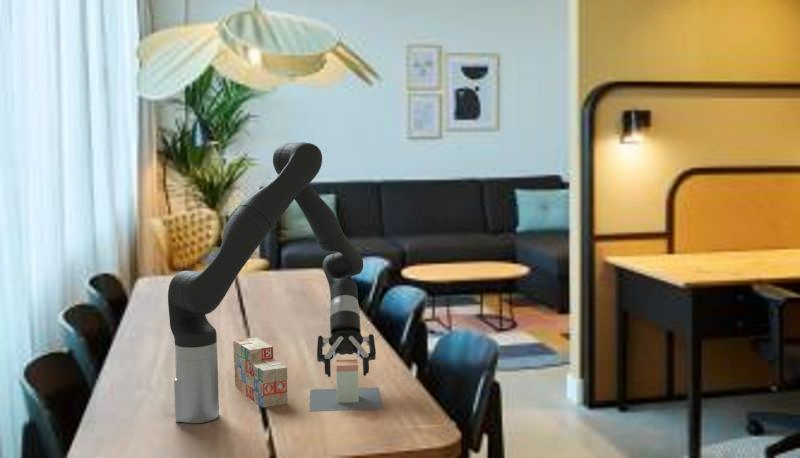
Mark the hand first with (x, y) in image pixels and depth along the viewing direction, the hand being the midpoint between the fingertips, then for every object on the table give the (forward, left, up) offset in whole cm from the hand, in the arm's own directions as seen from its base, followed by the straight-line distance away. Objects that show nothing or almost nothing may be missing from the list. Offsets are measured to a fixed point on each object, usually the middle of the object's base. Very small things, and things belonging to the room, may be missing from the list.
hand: (347, 374), depth 202 cm
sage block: (0, 0, -6) cm, 6 cm away
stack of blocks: (-21, +7, -7) cm, 23 cm away
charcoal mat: (-1, 0, -6) cm, 6 cm away
